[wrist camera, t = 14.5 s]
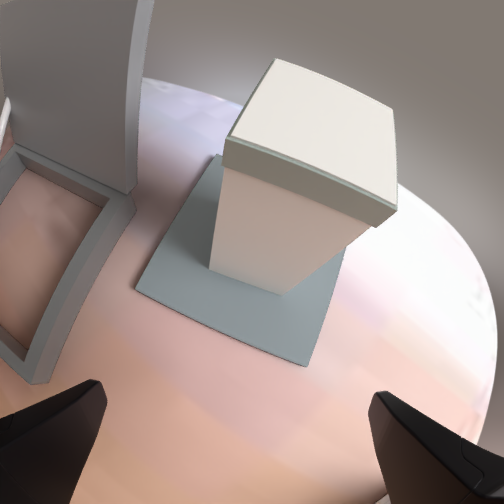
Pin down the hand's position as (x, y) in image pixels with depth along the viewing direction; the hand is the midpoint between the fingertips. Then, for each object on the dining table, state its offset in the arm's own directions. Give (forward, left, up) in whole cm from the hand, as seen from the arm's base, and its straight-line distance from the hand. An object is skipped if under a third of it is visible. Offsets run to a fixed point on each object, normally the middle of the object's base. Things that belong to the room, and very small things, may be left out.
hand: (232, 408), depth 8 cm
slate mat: (+9, +1, -9) cm, 13 cm away
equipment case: (+3, +17, -9) cm, 20 cm away
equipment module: (+9, +1, -9) cm, 13 cm away
